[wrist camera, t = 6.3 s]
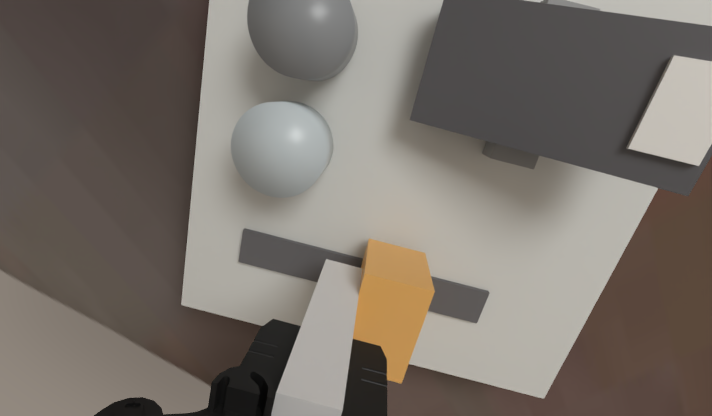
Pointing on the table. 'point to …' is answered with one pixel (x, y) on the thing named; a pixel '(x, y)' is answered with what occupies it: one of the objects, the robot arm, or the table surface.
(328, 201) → the panel
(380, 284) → the slider knob
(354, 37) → the button
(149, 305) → the table surface
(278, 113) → the button
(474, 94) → the dark grey slab
